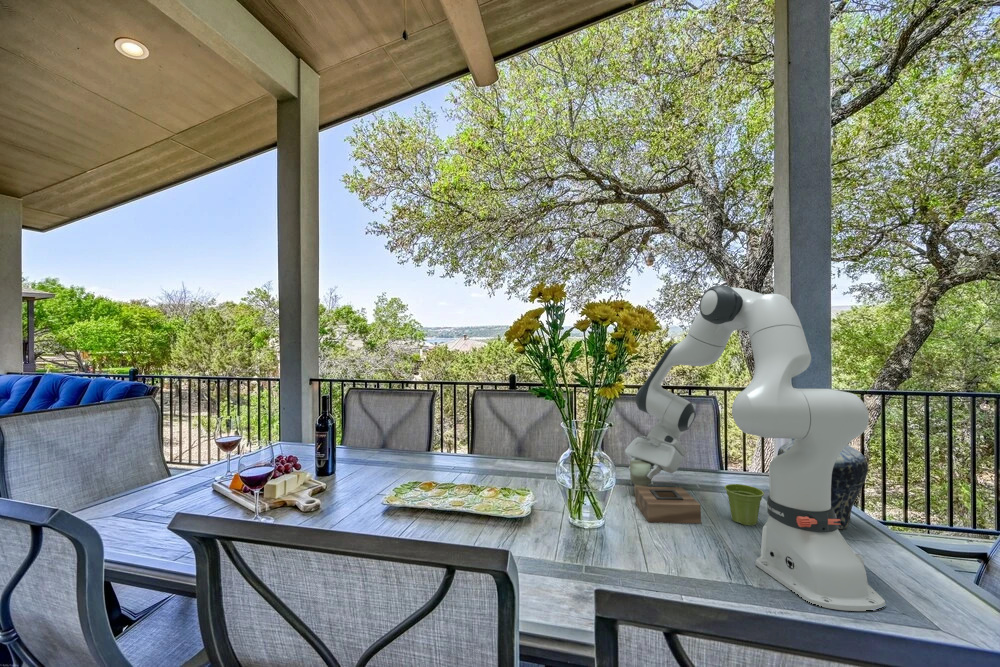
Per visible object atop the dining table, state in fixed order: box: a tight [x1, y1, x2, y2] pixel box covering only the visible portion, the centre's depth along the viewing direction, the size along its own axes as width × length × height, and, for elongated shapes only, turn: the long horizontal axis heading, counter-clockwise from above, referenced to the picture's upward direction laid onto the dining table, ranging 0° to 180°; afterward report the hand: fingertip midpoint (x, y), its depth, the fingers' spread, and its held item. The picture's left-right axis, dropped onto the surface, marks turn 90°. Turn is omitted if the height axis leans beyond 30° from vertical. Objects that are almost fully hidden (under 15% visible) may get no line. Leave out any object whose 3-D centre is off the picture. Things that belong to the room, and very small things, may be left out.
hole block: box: [634, 486, 702, 524], centre depth 122 cm, size 14×14×5 cm
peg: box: [629, 460, 652, 495], centre depth 137 cm, size 6×6×10 cm
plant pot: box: [724, 483, 765, 526], centre depth 116 cm, size 9×9×9 cm
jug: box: [777, 439, 869, 530], centre depth 115 cm, size 21×19×30 cm
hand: (639, 474), depth 136 cm, fingers closed on peg, 6 cm apart
